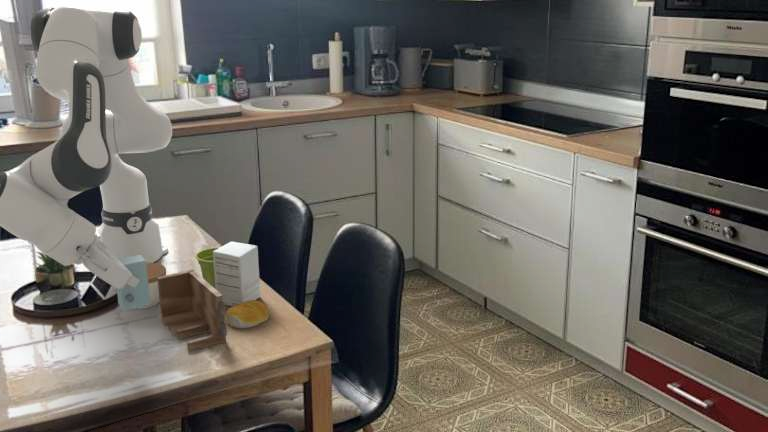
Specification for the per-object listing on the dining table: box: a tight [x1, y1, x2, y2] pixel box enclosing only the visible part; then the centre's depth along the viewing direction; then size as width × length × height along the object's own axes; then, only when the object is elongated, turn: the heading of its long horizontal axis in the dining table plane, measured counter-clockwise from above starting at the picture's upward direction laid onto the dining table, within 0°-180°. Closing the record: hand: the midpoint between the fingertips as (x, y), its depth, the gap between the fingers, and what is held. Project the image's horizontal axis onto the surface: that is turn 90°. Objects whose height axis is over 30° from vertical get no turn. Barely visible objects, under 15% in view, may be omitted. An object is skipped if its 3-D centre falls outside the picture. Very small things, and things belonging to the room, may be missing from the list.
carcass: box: [157, 269, 228, 352], centre depth 159 cm, size 18×8×10 cm, turn 34°
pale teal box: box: [116, 255, 150, 312], centre depth 145 cm, size 5×5×9 cm
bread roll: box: [224, 299, 270, 329], centre depth 165 cm, size 8×9×4 cm
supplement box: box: [213, 241, 261, 307], centre depth 173 cm, size 7×7×13 cm
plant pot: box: [195, 246, 220, 288], centre depth 180 cm, size 9×9×9 cm
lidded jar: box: [135, 262, 167, 310], centre depth 172 cm, size 11×11×9 cm
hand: (132, 278), depth 146 cm, fingers closed on pale teal box, 3 cm apart
